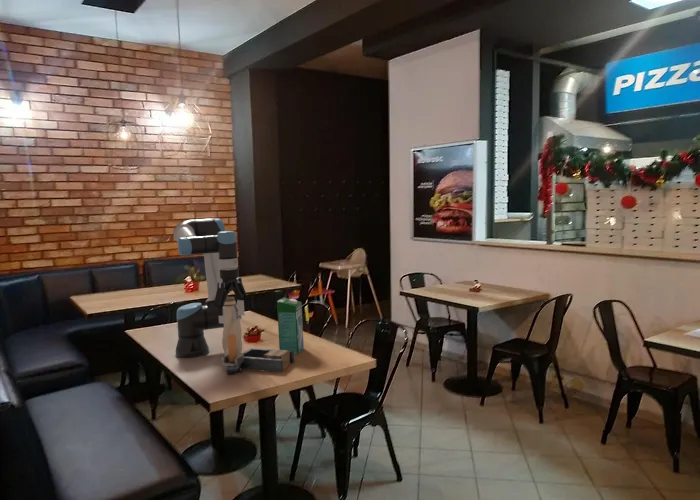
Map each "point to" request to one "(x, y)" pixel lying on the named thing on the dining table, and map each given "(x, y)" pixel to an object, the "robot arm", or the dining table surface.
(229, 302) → the water bottle
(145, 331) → the dining table surface
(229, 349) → the handle peg
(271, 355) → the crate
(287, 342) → the milk carton
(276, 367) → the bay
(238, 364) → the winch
